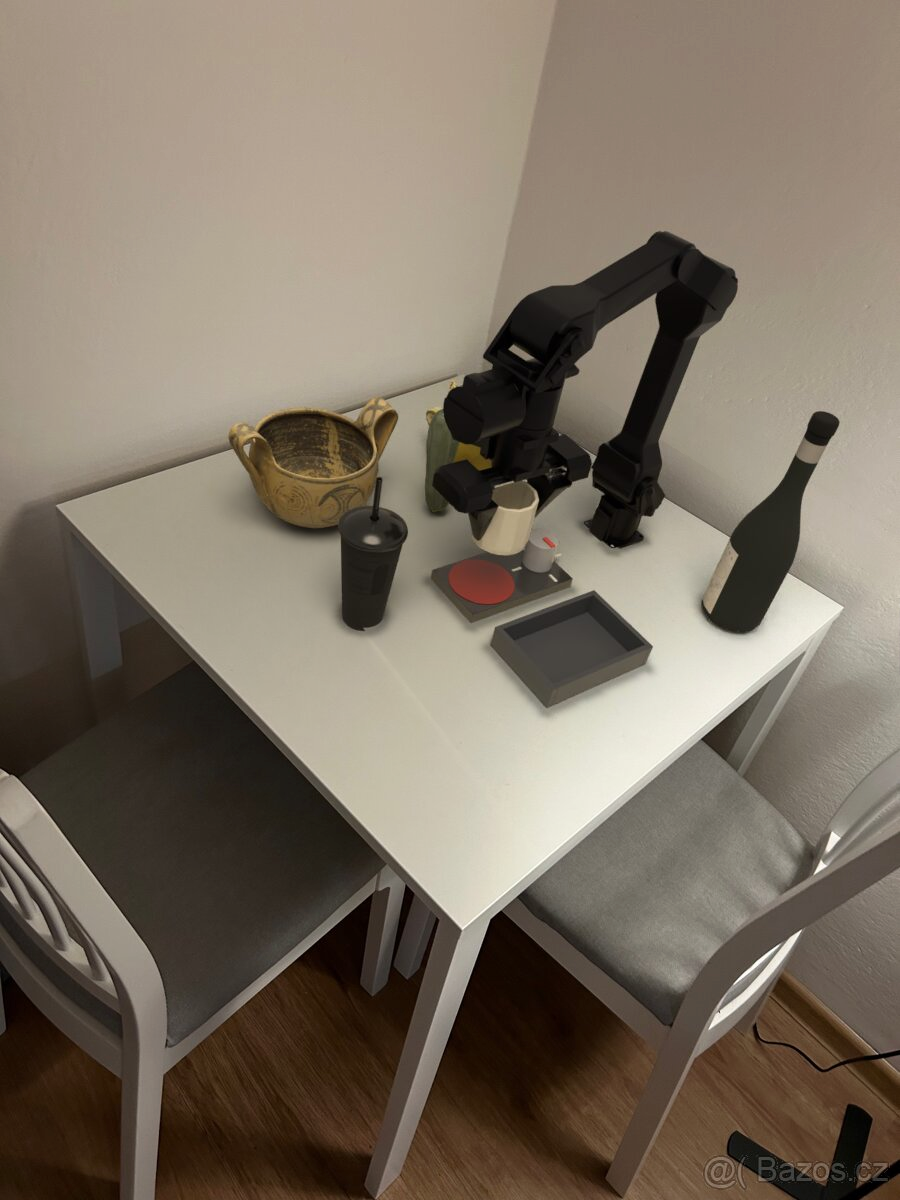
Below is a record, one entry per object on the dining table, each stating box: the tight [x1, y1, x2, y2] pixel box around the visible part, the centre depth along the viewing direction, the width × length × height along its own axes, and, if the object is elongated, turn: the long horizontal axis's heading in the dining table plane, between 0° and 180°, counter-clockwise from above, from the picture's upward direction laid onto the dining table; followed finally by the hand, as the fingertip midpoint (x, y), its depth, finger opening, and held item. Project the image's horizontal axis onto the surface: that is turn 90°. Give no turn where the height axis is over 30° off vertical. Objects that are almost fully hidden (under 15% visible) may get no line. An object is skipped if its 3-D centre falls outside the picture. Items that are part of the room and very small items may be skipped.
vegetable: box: [424, 379, 460, 513], centre depth 118 cm, size 4×4×20 cm
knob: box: [522, 528, 560, 573], centre depth 115 cm, size 4×4×4 cm
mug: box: [425, 405, 492, 471], centre depth 132 cm, size 12×10×10 cm
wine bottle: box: [701, 410, 841, 634], centre depth 108 cm, size 8×8×30 cm
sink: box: [489, 589, 654, 709], centre depth 106 cm, size 16×11×4 cm
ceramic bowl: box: [227, 396, 399, 529], centre depth 116 cm, size 22×17×15 cm
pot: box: [471, 480, 539, 555], centre depth 104 cm, size 7×7×6 cm
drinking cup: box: [337, 476, 409, 632], centre depth 100 cm, size 8×8×20 cm
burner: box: [448, 559, 515, 605], centre depth 112 cm, size 8×8×1 cm
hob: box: [430, 545, 574, 624], centre depth 115 cm, size 18×9×2 cm, turn 124°
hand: (500, 530), depth 106 cm, fingers closed on pot, 7 cm apart
